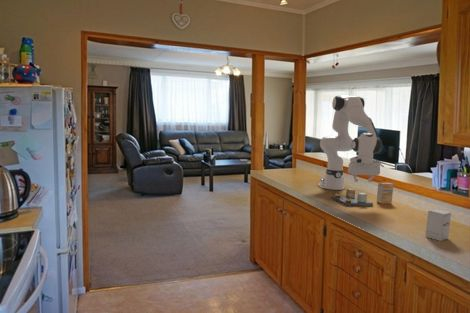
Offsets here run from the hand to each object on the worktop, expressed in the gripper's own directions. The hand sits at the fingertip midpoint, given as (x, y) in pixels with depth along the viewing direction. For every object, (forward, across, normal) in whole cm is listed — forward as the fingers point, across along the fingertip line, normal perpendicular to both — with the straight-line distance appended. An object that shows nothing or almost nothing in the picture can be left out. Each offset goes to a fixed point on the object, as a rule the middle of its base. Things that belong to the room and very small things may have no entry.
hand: (363, 181), depth 240 cm
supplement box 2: (+14, -2, +64) cm, 65 cm away
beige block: (+13, 0, -13) cm, 18 cm away
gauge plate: (+15, +3, -6) cm, 16 cm away
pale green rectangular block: (+12, 0, +1) cm, 12 cm away
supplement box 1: (+15, -19, -4) cm, 24 cm away
